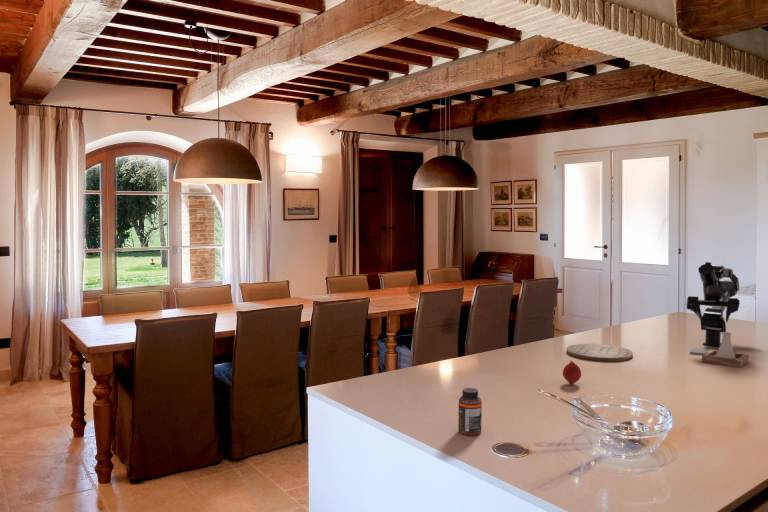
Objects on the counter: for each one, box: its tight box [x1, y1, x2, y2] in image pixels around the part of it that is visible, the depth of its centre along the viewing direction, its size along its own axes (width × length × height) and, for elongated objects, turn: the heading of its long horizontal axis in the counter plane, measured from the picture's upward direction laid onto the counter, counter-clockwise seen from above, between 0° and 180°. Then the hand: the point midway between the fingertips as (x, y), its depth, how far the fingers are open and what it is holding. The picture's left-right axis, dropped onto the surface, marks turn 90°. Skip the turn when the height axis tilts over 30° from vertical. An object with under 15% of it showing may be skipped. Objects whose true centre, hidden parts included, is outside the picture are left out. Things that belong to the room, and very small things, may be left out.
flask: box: [716, 331, 736, 359], centre depth 239 cm, size 7×7×10 cm
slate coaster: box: [689, 347, 712, 356], centre depth 253 cm, size 9×9×1 cm
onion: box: [562, 359, 582, 385], centre depth 207 cm, size 6×6×8 cm
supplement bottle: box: [457, 387, 483, 437], centre depth 163 cm, size 6×6×11 cm
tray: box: [701, 349, 749, 368], centre depth 239 cm, size 13×13×2 cm
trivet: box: [566, 343, 634, 363], centre depth 250 cm, size 25×25×2 cm
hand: (714, 320), depth 250 cm, fingers open, 9 cm apart
